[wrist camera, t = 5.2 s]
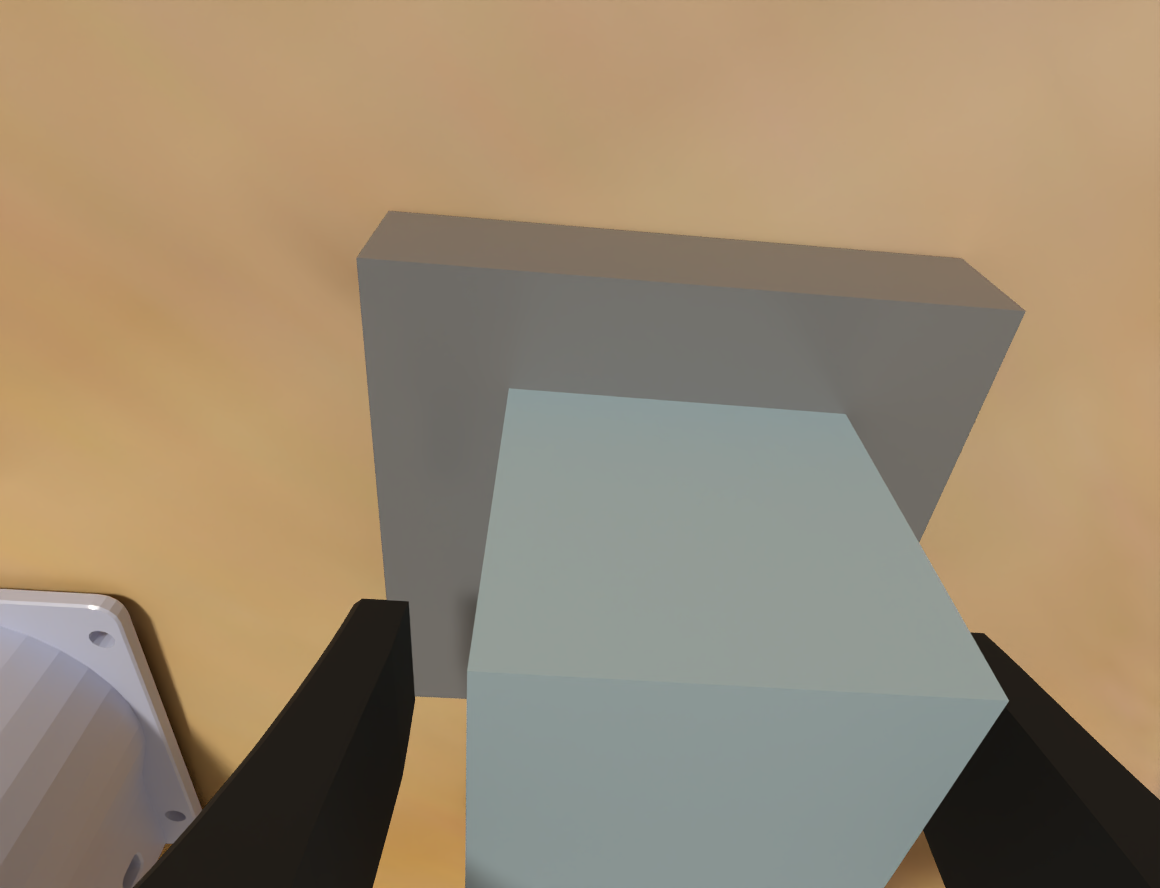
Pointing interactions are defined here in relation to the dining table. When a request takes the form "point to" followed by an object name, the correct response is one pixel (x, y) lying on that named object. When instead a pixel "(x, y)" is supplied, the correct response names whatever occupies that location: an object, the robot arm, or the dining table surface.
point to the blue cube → (706, 655)
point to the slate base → (640, 368)
